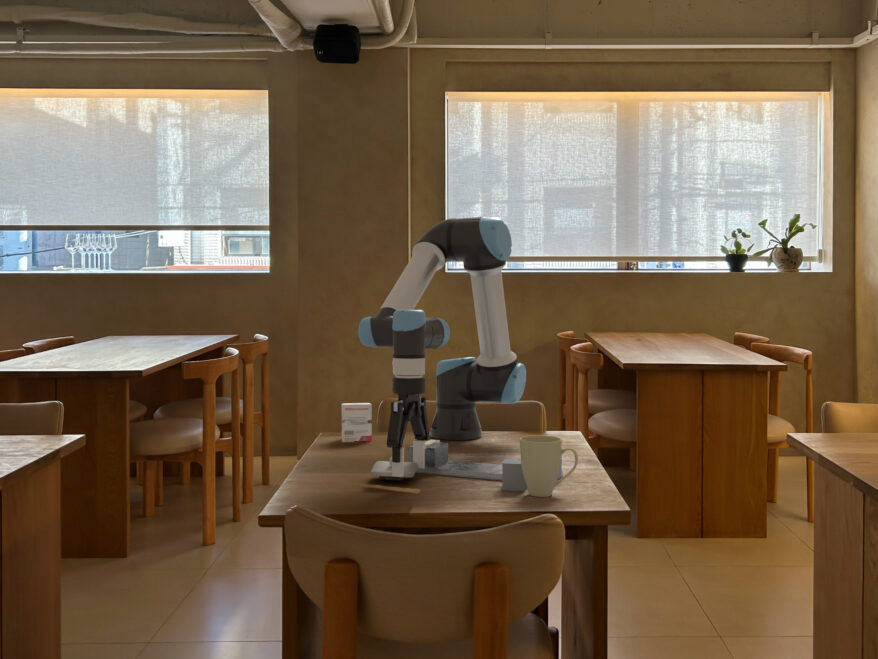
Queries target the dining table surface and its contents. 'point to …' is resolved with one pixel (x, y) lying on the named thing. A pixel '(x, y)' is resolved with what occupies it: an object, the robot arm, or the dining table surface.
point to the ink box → (356, 422)
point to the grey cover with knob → (385, 470)
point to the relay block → (512, 475)
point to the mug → (542, 463)
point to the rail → (458, 464)
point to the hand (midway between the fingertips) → (408, 472)
